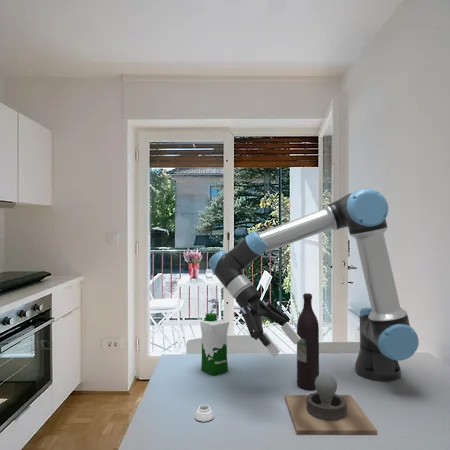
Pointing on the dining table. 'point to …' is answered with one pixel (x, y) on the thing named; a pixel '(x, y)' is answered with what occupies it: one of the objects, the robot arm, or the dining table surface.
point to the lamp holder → (328, 415)
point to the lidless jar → (204, 413)
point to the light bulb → (326, 388)
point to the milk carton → (214, 345)
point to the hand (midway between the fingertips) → (288, 347)
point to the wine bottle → (307, 346)
